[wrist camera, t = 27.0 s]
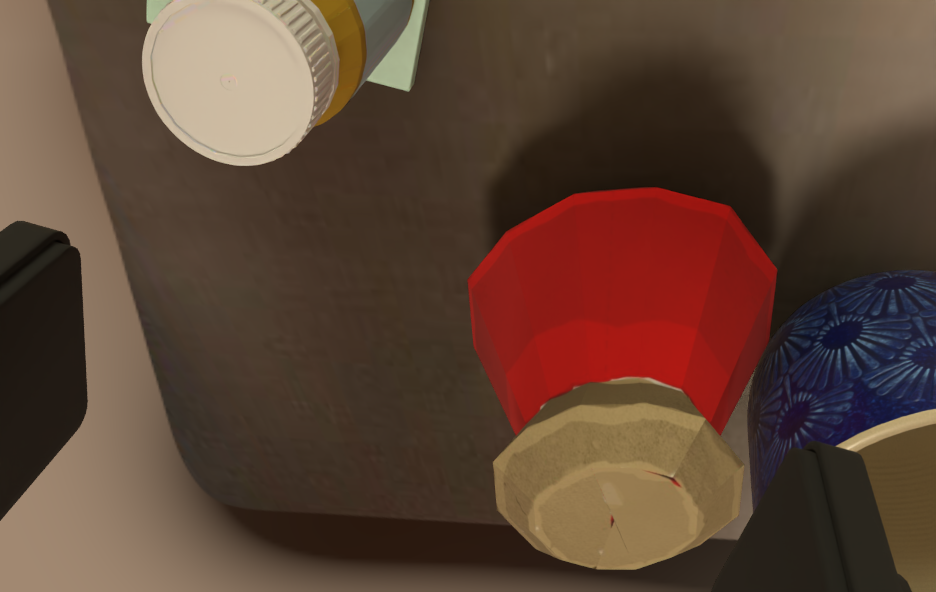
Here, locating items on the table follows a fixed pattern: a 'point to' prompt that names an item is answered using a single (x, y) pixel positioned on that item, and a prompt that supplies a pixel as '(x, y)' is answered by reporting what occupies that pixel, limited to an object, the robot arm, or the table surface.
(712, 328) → the bottle
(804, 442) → the planter
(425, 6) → the scale
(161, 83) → the bottle
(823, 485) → the robot arm
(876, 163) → the table surface
